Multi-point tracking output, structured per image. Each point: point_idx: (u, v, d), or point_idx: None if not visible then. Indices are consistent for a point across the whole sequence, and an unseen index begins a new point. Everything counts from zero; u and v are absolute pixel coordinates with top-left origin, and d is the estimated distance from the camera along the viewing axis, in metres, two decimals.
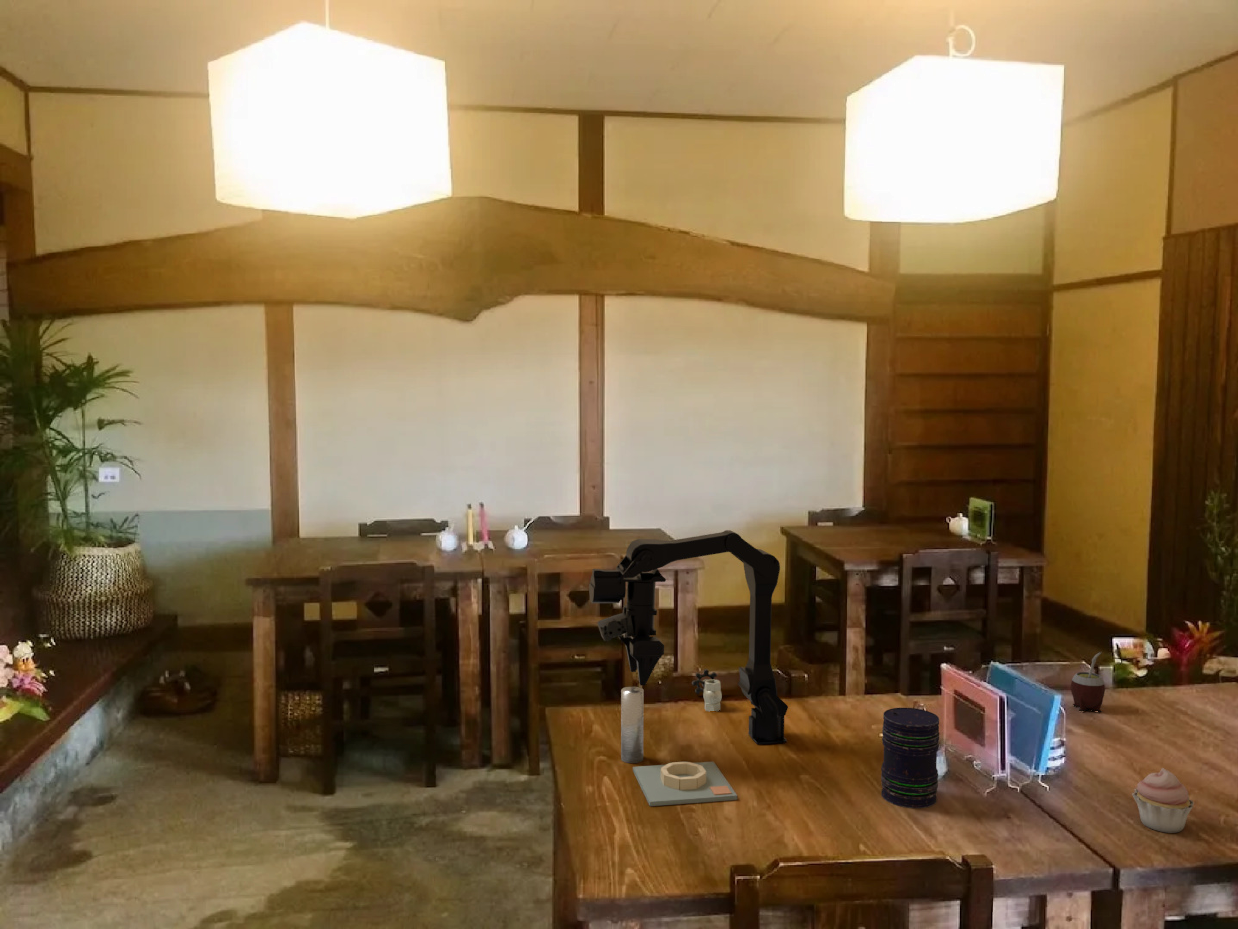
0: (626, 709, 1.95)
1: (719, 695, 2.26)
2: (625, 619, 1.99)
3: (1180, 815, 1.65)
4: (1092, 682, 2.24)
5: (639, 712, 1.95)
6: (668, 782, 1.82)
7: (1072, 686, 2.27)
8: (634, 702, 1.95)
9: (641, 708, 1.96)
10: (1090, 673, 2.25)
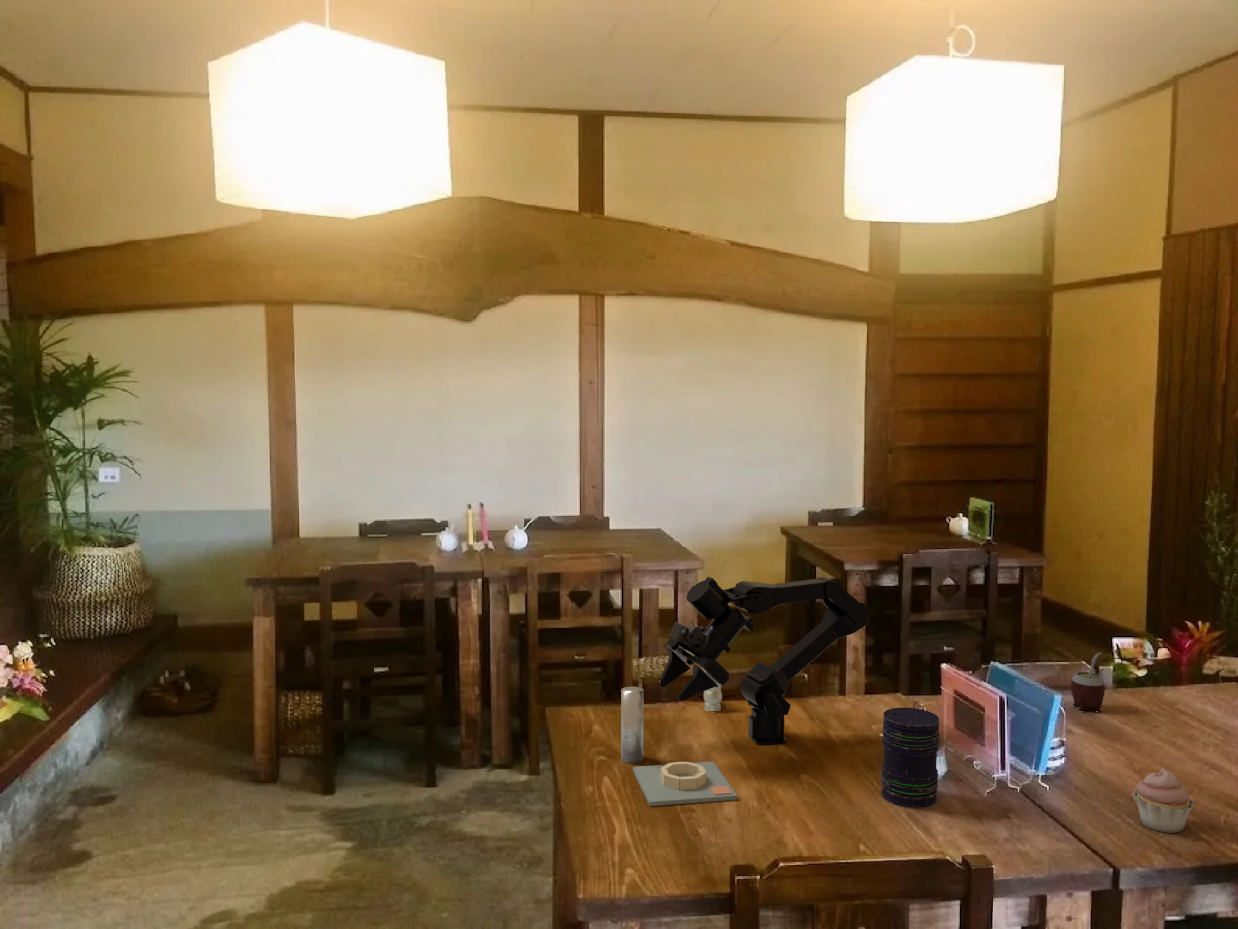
0: (626, 709, 1.95)
1: (719, 695, 2.25)
2: (704, 636, 1.99)
3: (1180, 815, 1.65)
4: (1092, 682, 2.24)
5: (639, 712, 1.95)
6: (668, 782, 1.82)
7: (1072, 686, 2.27)
8: (634, 702, 1.95)
9: (641, 708, 1.96)
10: (1090, 673, 2.25)
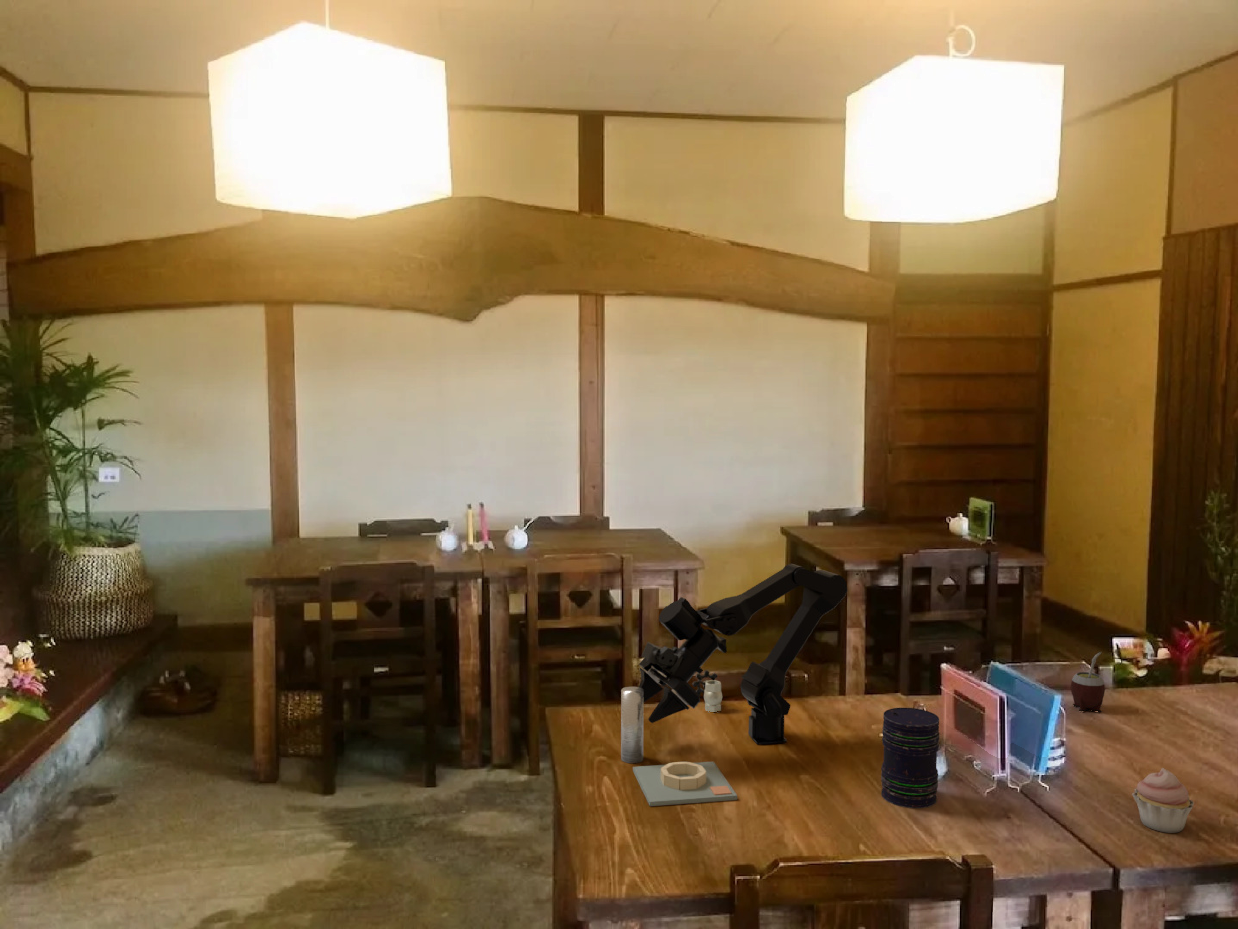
0: (626, 709, 1.95)
1: (720, 696, 2.25)
2: (676, 657, 1.97)
3: (1180, 815, 1.65)
4: (1092, 682, 2.24)
5: (639, 712, 1.95)
6: (668, 782, 1.82)
7: (1072, 686, 2.27)
8: (634, 702, 1.95)
9: (641, 708, 1.96)
10: (1090, 673, 2.25)
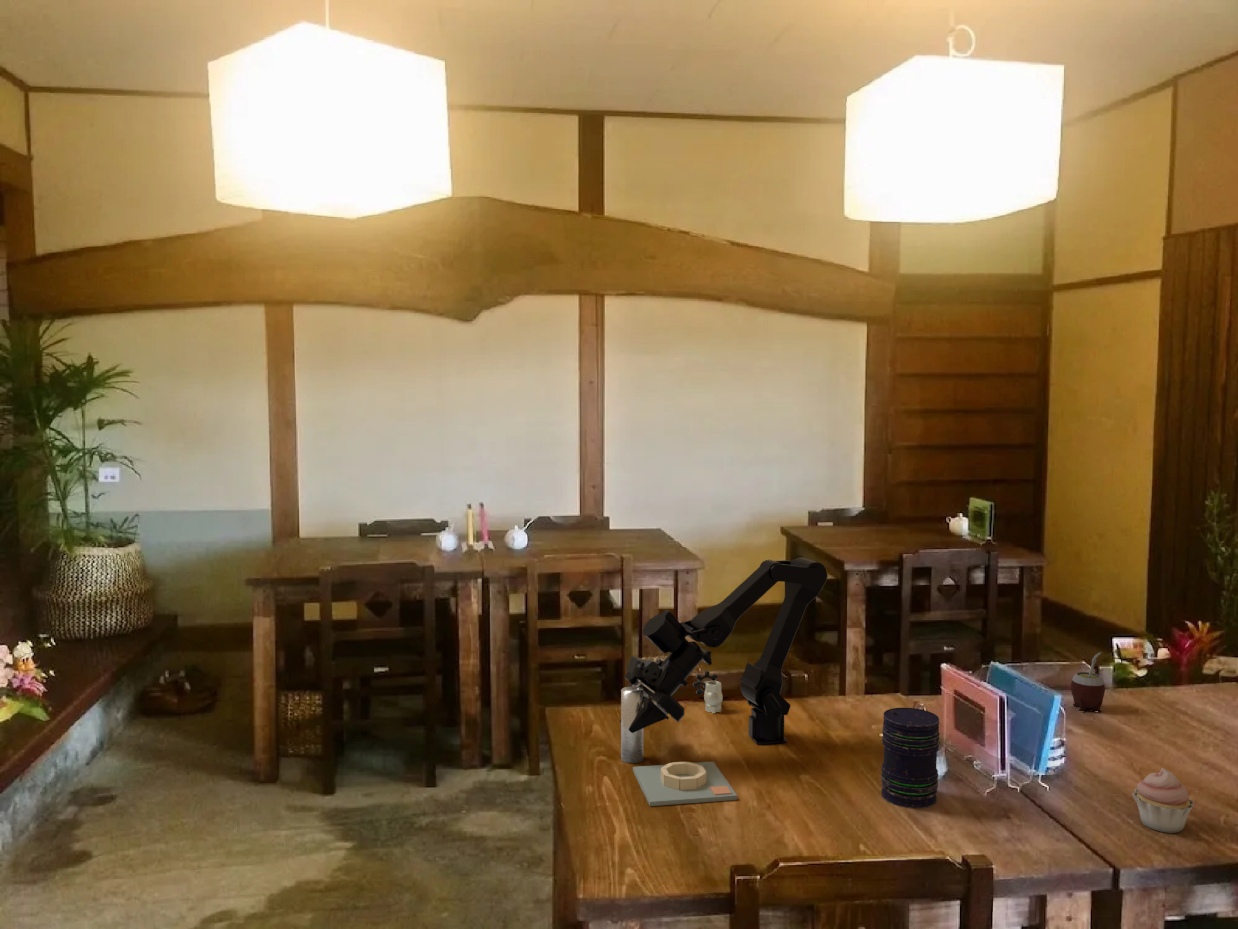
0: (626, 709, 1.95)
1: (720, 696, 2.25)
2: (660, 670, 1.96)
3: (1180, 815, 1.65)
4: (1092, 682, 2.24)
5: None
6: (668, 782, 1.82)
7: (1072, 686, 2.27)
8: (634, 702, 1.95)
9: (641, 708, 1.96)
10: (1090, 673, 2.25)
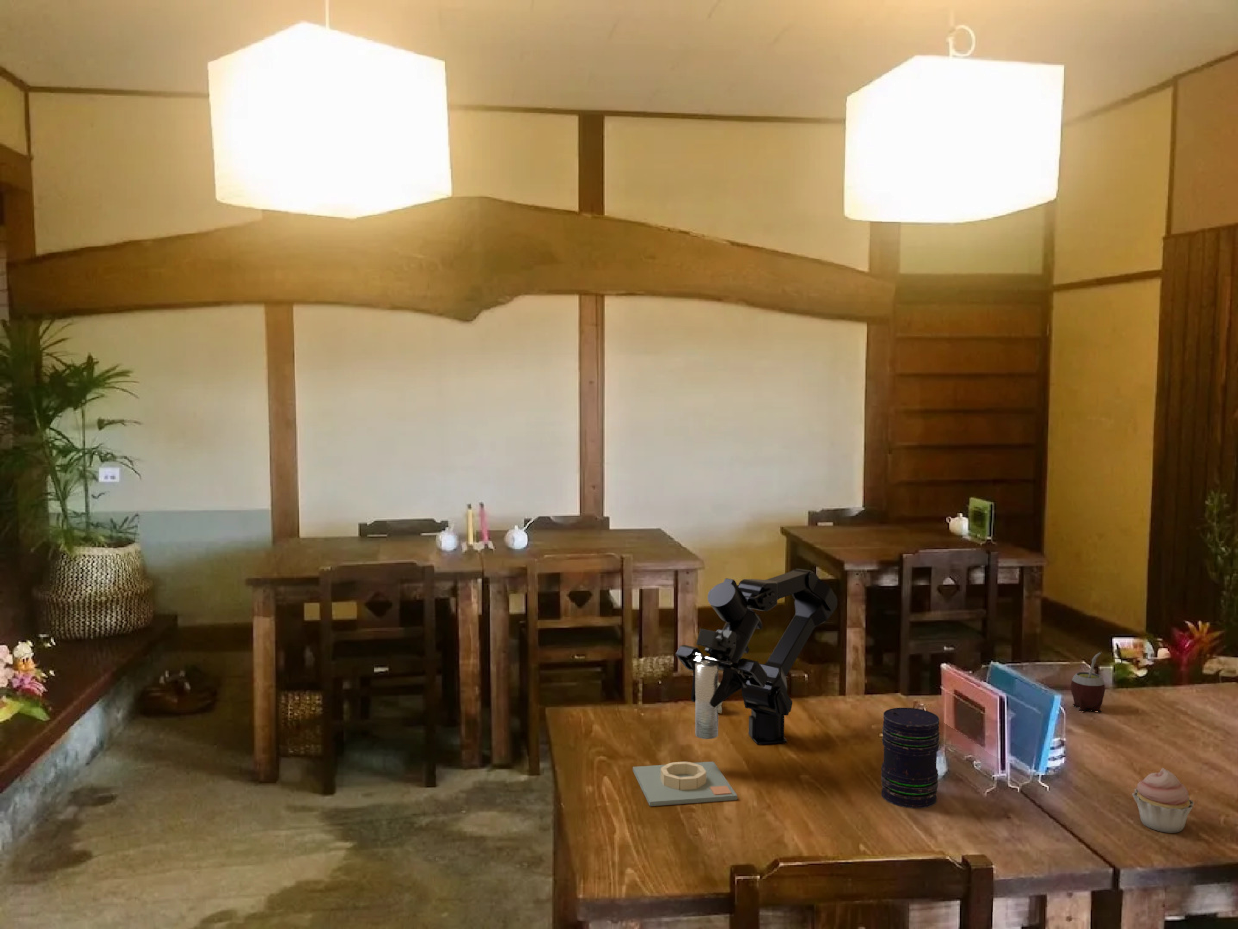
0: (706, 684, 1.89)
1: None
2: None
3: (1180, 815, 1.65)
4: (1092, 682, 2.24)
5: (717, 685, 1.90)
6: (668, 782, 1.82)
7: (1072, 686, 2.27)
8: (714, 675, 1.89)
9: None
10: (1090, 673, 2.25)
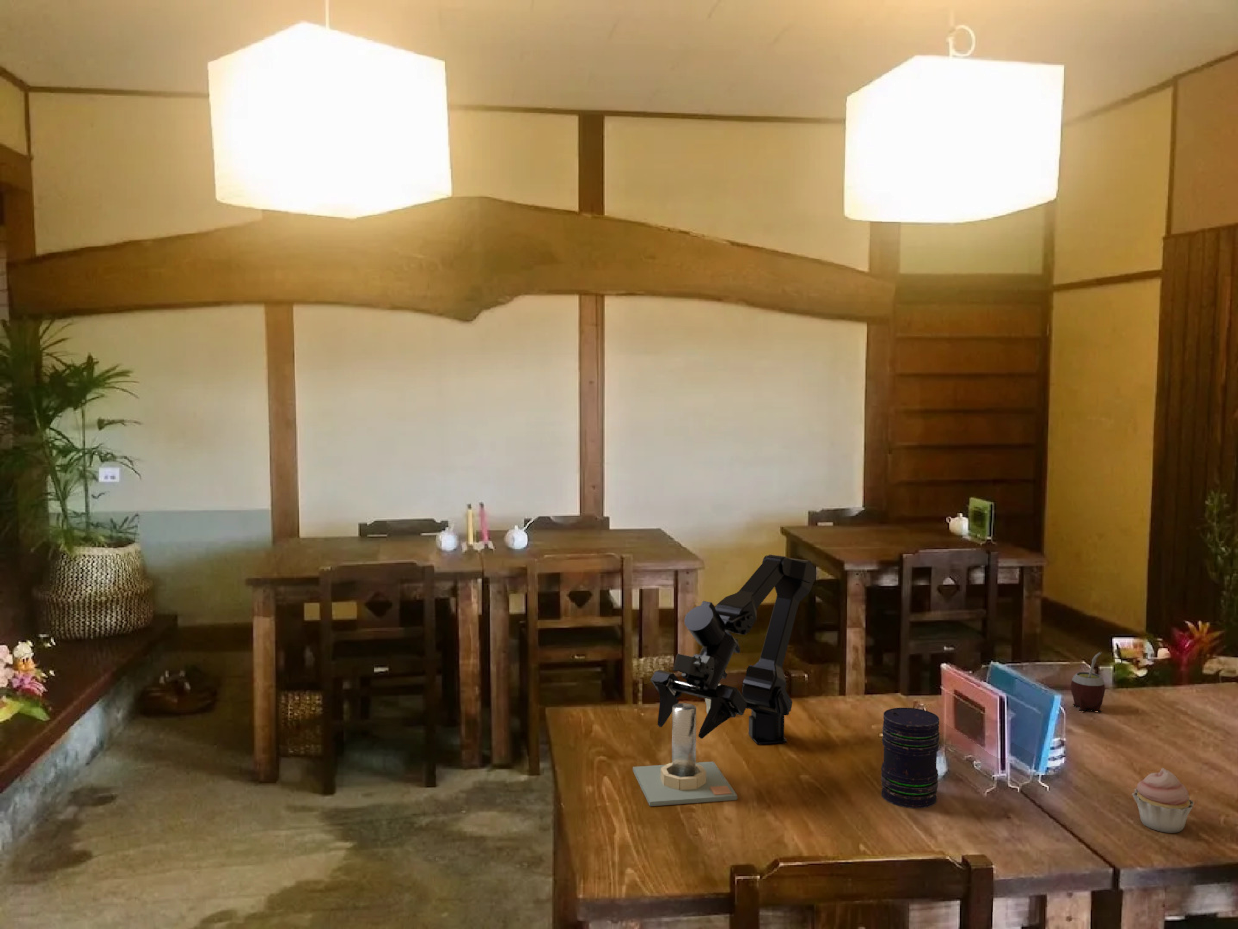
0: (684, 728, 1.82)
1: None
2: None
3: (1180, 815, 1.65)
4: (1092, 682, 2.24)
5: (695, 729, 1.84)
6: (668, 782, 1.82)
7: (1072, 686, 2.27)
8: (692, 719, 1.83)
9: None
10: (1090, 673, 2.25)
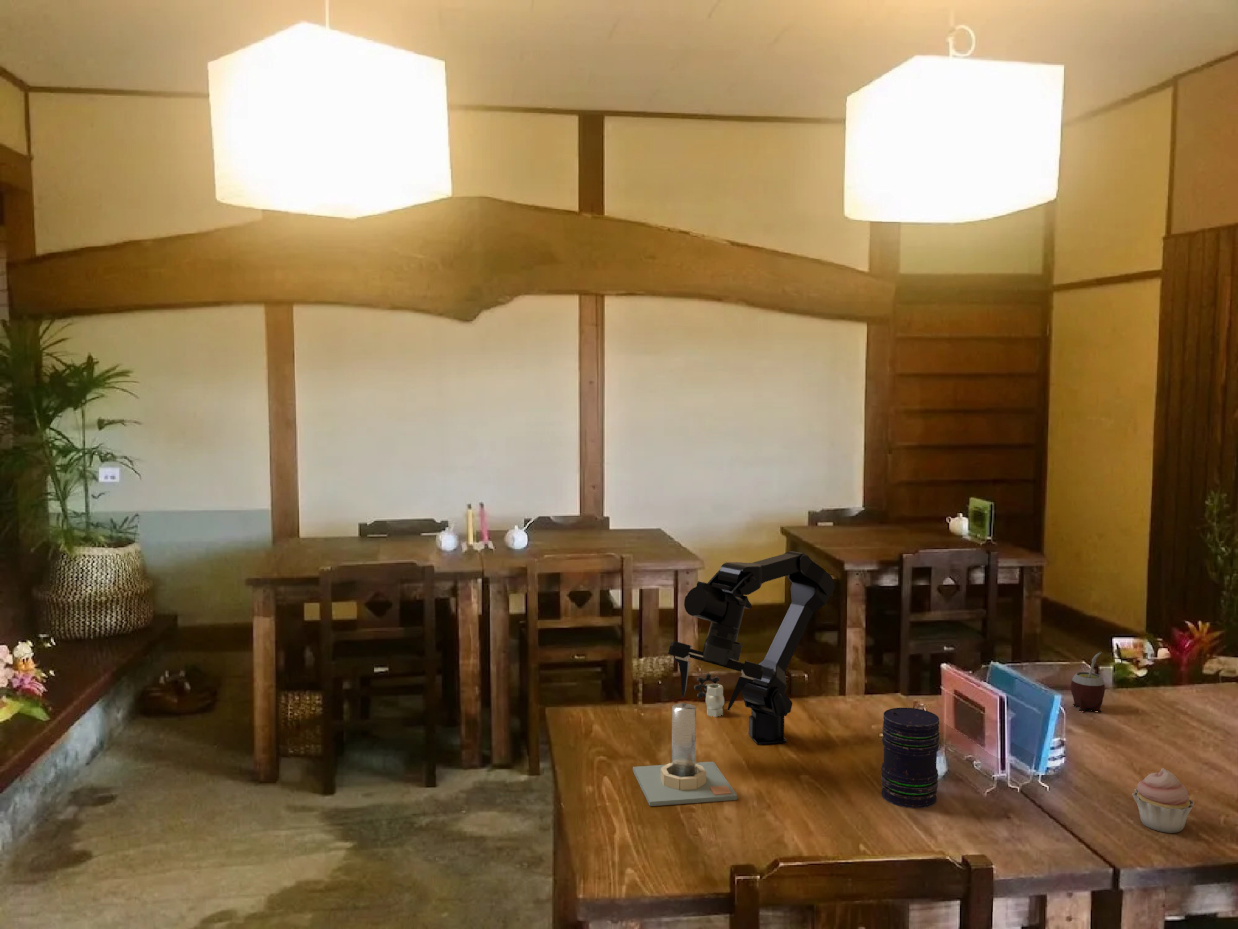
0: (683, 728, 1.82)
1: (721, 700, 2.22)
2: (731, 642, 1.94)
3: (1180, 815, 1.65)
4: (1092, 682, 2.24)
5: (695, 729, 1.84)
6: (668, 782, 1.82)
7: (1072, 686, 2.27)
8: (692, 719, 1.82)
9: (695, 725, 1.84)
10: (1090, 673, 2.25)
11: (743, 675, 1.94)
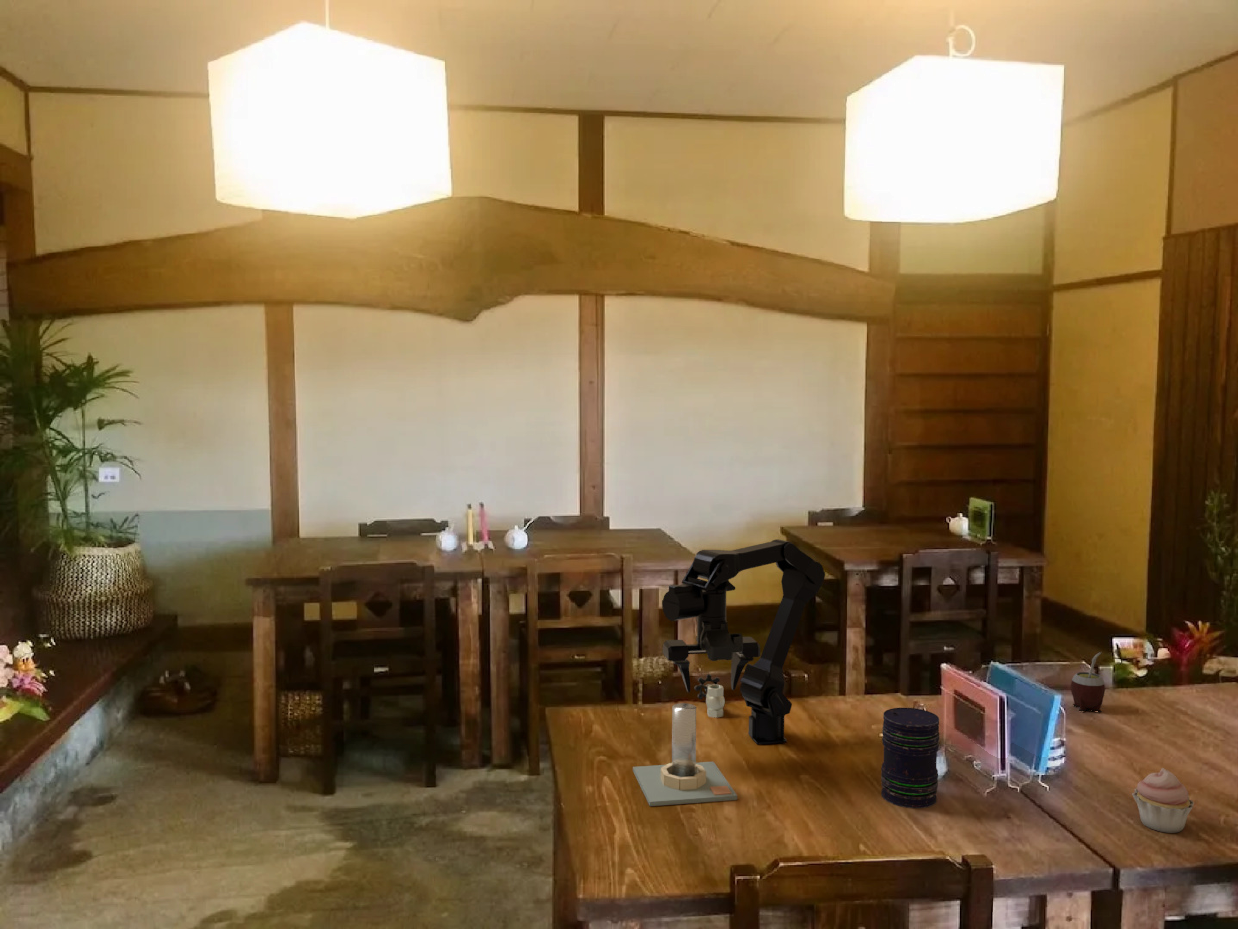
0: (684, 728, 1.82)
1: (722, 700, 2.22)
2: (726, 632, 1.95)
3: (1180, 815, 1.65)
4: (1092, 682, 2.24)
5: (695, 729, 1.84)
6: (668, 782, 1.82)
7: (1072, 686, 2.27)
8: (692, 719, 1.83)
9: (695, 725, 1.84)
10: (1090, 673, 2.25)
11: (741, 655, 1.98)
